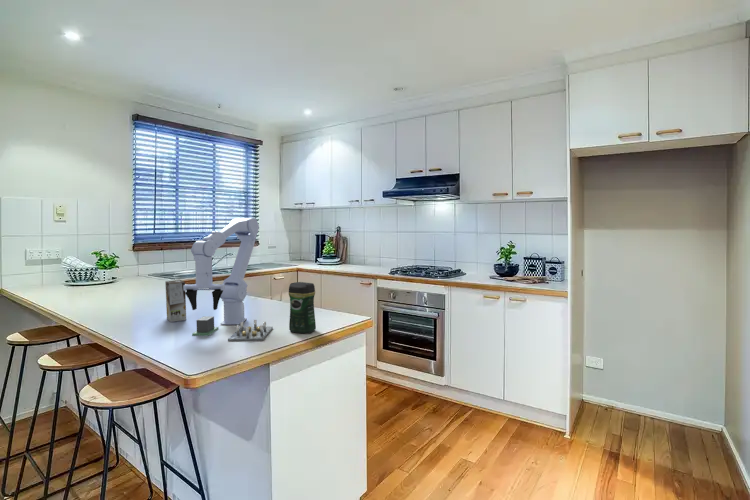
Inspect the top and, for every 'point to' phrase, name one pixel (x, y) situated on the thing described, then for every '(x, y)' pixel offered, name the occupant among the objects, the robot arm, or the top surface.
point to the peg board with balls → (250, 332)
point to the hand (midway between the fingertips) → (205, 309)
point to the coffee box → (175, 301)
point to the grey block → (205, 326)
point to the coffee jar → (302, 307)
